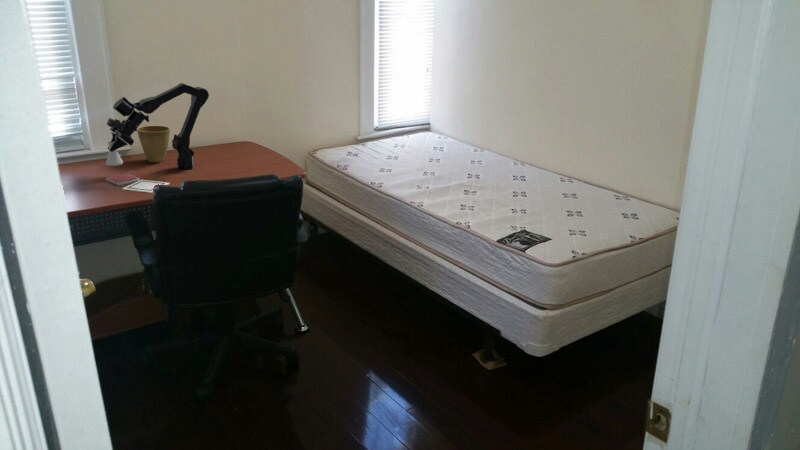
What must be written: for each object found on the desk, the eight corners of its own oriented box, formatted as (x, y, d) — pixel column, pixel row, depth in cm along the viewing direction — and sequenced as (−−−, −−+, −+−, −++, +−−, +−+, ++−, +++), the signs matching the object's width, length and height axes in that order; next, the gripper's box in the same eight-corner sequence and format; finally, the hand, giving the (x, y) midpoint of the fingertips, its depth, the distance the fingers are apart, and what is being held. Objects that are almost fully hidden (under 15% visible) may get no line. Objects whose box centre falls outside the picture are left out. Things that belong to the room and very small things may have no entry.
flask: (118, 167, 283) (115, 144, 279) (102, 166, 283) (99, 144, 280) (126, 162, 290) (123, 141, 286) (110, 161, 290) (107, 140, 287)
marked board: (141, 180, 284) (141, 179, 284) (170, 183, 282) (170, 182, 281) (122, 189, 272) (121, 188, 271) (151, 192, 269) (151, 191, 269)
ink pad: (127, 176, 289) (127, 173, 289) (139, 181, 284) (139, 177, 283) (106, 180, 282) (105, 177, 281) (118, 185, 276) (117, 182, 276)
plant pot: (163, 165, 308) (159, 132, 302) (134, 163, 310) (130, 130, 304) (178, 158, 321) (175, 126, 316) (150, 155, 324) (147, 124, 318)
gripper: (111, 107, 287) (88, 134, 285) (122, 115, 273) (98, 143, 271) (132, 123, 295) (110, 149, 292) (143, 131, 281) (120, 159, 278)
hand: (109, 150), depth 283 cm, fingers closed on flask, 3 cm apart
